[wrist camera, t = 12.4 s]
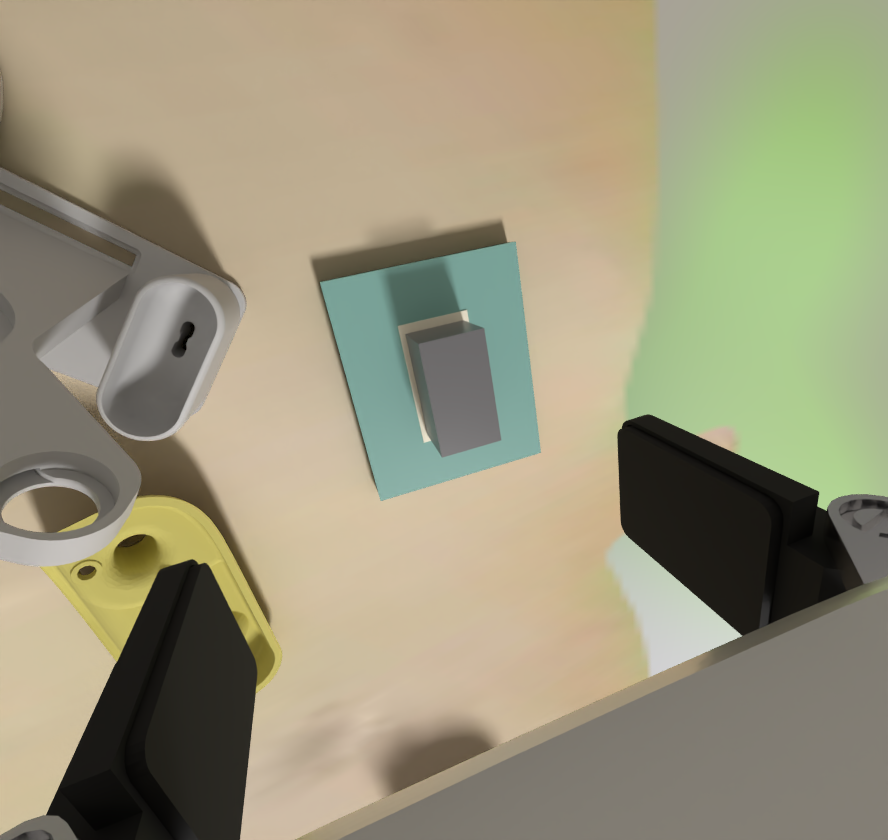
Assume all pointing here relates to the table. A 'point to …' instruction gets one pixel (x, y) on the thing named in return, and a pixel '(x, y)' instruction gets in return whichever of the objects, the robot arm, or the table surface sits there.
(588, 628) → the table surface
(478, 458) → the board
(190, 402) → the phone holder
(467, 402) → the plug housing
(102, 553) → the plastic component
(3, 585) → the table surface
